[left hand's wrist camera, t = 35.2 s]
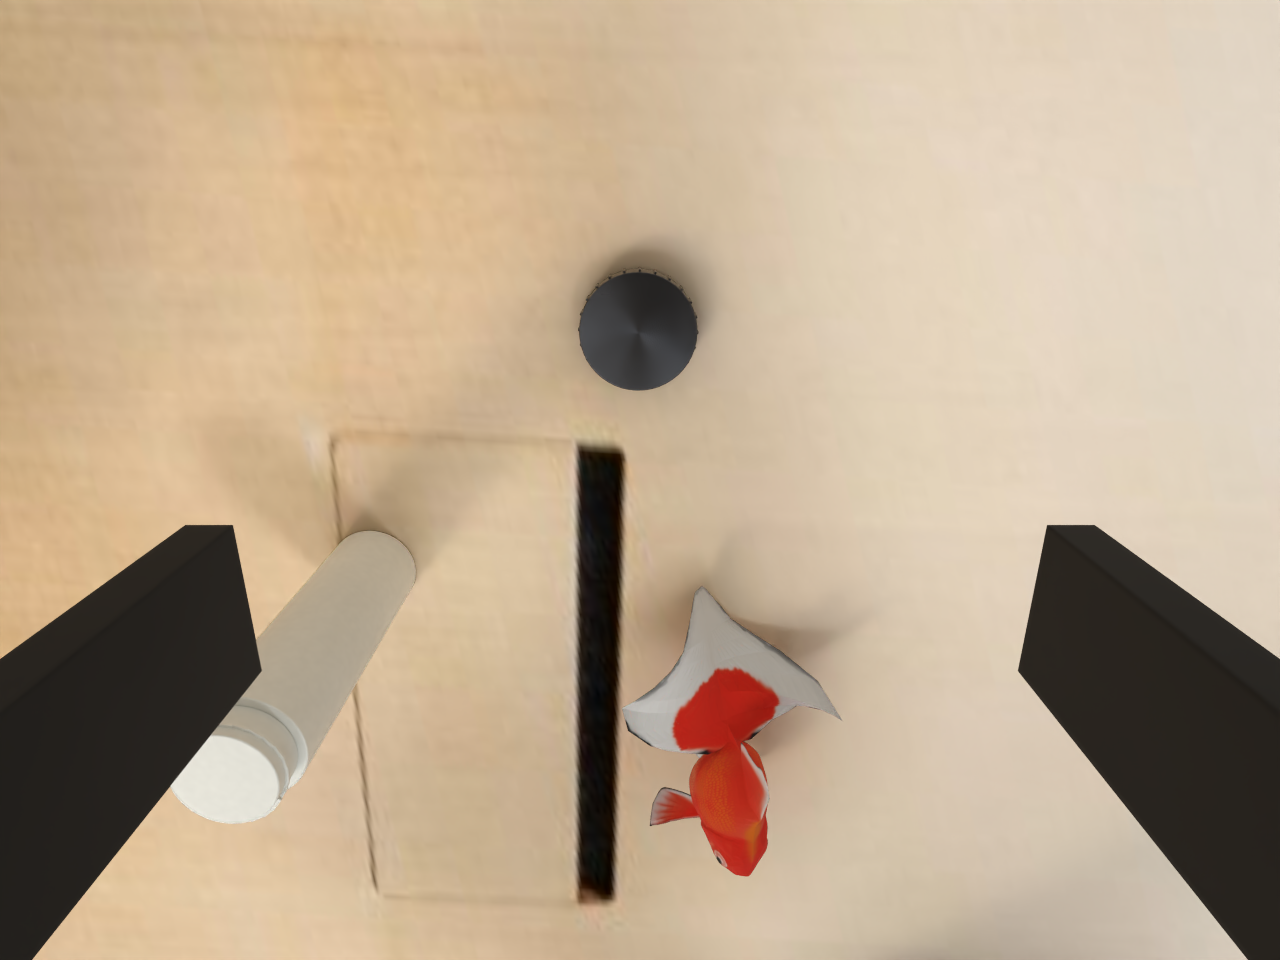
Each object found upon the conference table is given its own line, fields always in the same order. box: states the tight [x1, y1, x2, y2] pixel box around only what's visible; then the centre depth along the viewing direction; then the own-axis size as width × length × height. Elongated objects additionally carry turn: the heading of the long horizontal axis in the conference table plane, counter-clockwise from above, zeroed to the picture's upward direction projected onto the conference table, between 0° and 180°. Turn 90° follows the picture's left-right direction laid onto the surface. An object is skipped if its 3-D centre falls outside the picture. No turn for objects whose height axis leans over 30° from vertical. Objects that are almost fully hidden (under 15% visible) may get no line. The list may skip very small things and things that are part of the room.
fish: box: [622, 586, 842, 876], centre depth 42 cm, size 11×16×10 cm
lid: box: [578, 267, 698, 390], centre depth 37 cm, size 6×6×2 cm
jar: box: [170, 531, 416, 824], centre depth 35 cm, size 5×5×17 cm
